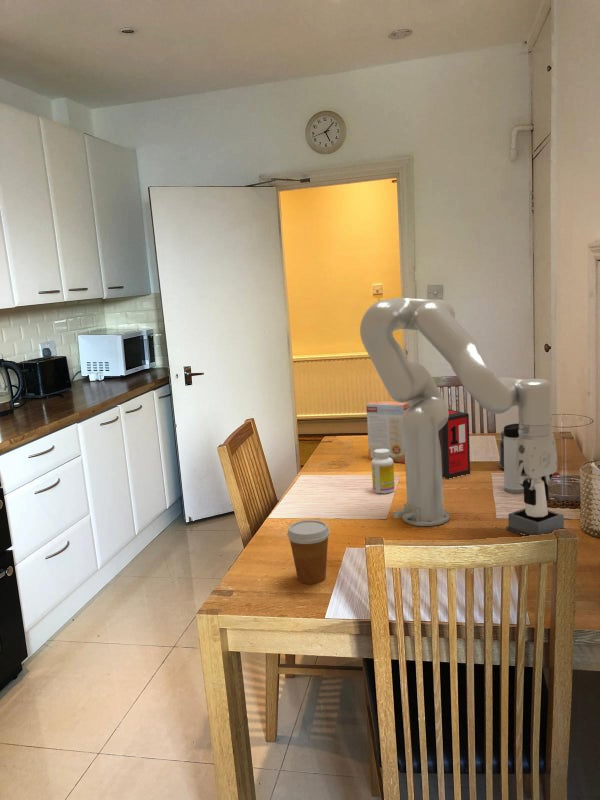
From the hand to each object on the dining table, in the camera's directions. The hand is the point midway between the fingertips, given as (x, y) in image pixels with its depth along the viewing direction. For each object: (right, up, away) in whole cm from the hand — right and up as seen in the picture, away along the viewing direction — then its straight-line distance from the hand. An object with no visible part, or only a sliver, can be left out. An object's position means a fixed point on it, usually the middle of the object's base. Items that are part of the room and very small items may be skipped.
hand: (536, 501), depth 165 cm
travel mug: (+5, -2, +32) cm, 32 cm away
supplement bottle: (-33, -3, +40) cm, 52 cm away
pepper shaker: (0, -3, +1) cm, 3 cm away
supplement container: (+12, +3, +53) cm, 54 cm away
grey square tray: (0, -7, +1) cm, 8 cm away
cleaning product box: (-11, +1, +56) cm, 57 cm away
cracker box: (-26, +3, +73) cm, 78 cm away
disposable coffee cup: (-56, -15, -16) cm, 60 cm away
